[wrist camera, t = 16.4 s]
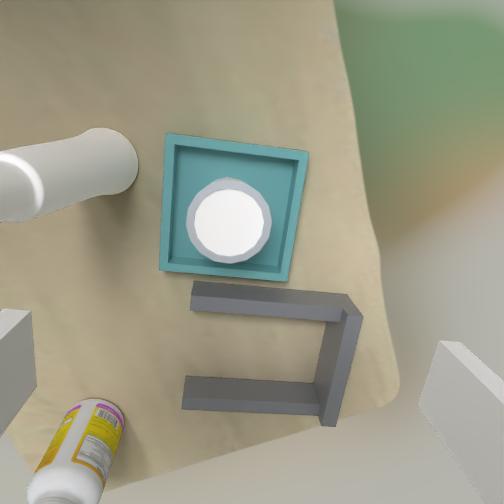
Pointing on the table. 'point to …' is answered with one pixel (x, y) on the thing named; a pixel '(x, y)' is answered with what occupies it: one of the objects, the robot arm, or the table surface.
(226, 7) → the table surface
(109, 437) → the supplement bottle
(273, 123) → the table surface
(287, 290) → the bay
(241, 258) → the shot glass
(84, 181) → the cosmetic bottle
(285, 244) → the tray
